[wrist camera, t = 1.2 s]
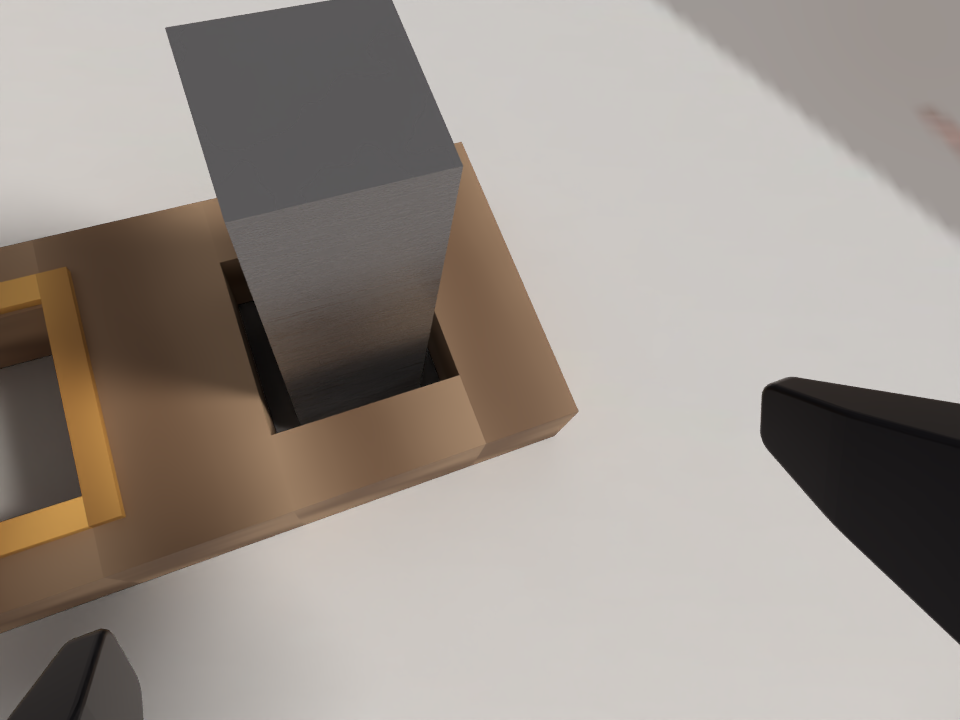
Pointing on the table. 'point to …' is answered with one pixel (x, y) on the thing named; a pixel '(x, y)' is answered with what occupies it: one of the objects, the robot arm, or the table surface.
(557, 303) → the table surface
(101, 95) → the table surface
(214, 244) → the wooden peg holder
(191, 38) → the peg
